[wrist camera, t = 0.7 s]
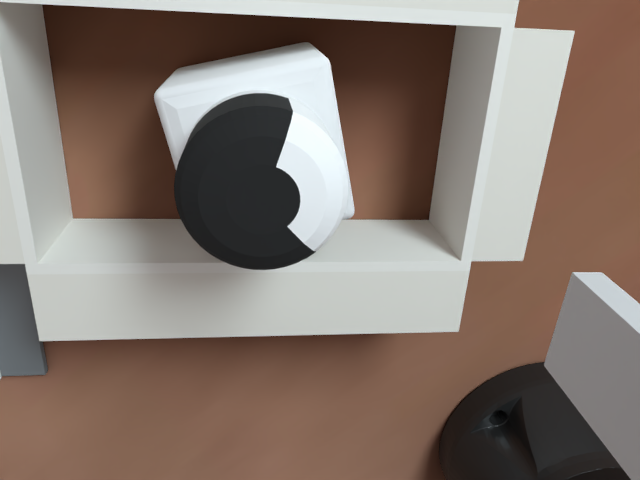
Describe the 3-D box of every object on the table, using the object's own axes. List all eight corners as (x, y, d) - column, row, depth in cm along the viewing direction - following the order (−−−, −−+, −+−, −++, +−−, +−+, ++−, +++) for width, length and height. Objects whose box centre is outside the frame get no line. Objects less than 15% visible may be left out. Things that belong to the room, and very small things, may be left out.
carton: (470, 281, 38) (507, 330, 32) (22, 286, 34) (-21, 342, 29) (535, -69, 29) (600, -82, 24) (-56, -113, 25) (-139, -141, 20)
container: (210, 198, 33) (188, 311, 21) (173, 68, 30) (123, 118, 18) (334, 171, 33) (380, 270, 22) (311, 40, 30) (350, 71, 18)
